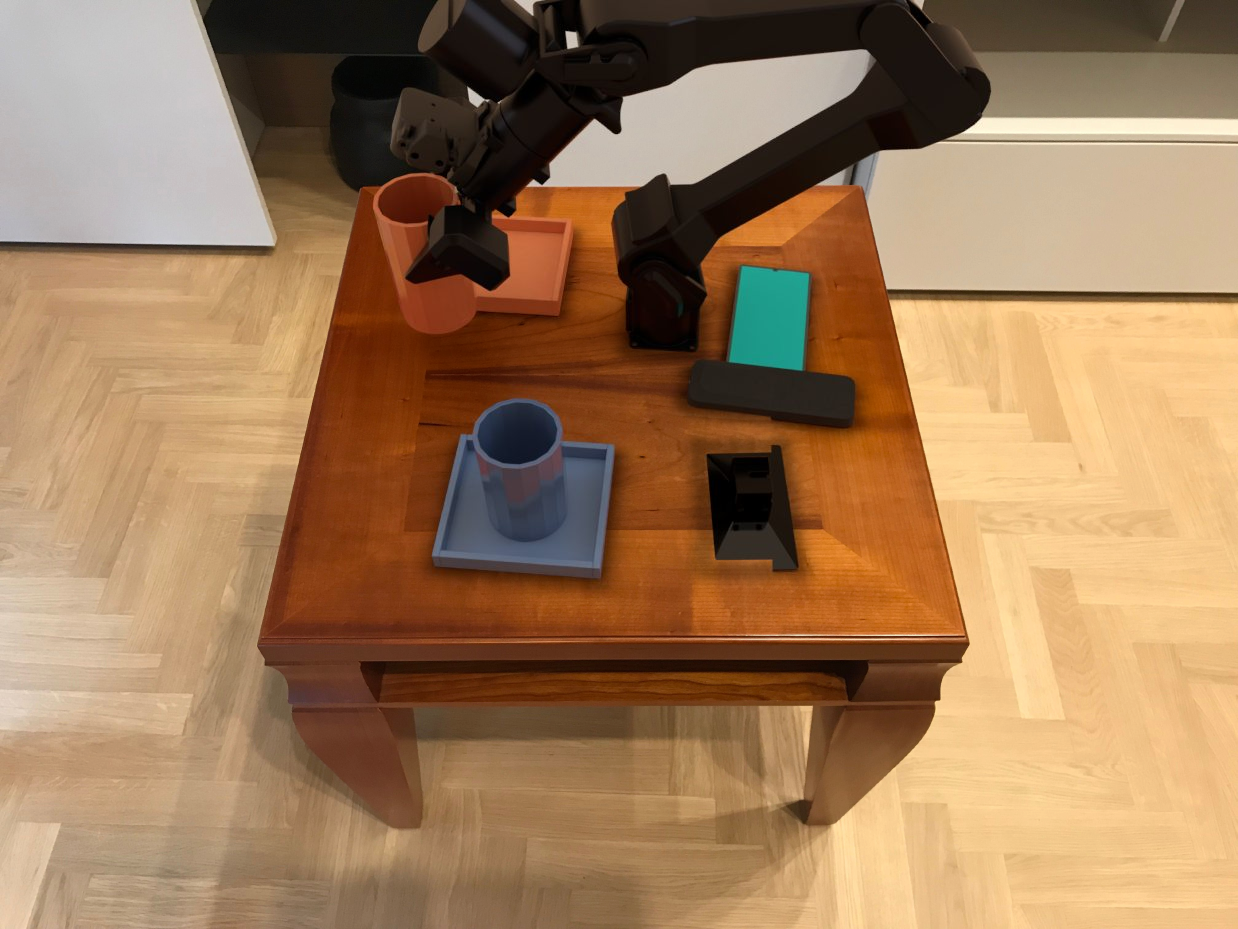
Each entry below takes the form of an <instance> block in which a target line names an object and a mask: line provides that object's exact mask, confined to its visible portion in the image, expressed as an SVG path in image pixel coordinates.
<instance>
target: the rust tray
mask: <svg viewBox="0 0 1238 929" xmlns="http://www.w3.org/2000/svg"><path fill="white" fill-rule="evenodd" d="M492 225H494V226H495V227H497V228H499V229H500V230H502V231H503V232H505V233H506V234H508V242H509V255H510V277H509V278H508V279H507V280H505V281H504V282H503V283H502V284H501V285H500V286H499V287H498V288H497V289H496V290H493V291H488V290H487V289H485V288H483V287H482V286H480V285H478V284H477V283H475V287H476V293H477V303H478V306H477V311H476V312H489V313H503V314H504V313H506V314H508V313H509V314H520V315H521V314H524V315H538V316H539V315H540V316H556V317H558V316H560V312H561V306H562V300H563V294H564V289H565V283H566V279H567V272H568V266H569V261H570V256H571V250H572V244H573V239H574V221H573V218H564V217H563V218H562V217H547V216H544V217H543V216H528V215H527V216H524V215H511V216H510V217H509V218H508V217H506V216H505V215H503V214H492Z"/></svg>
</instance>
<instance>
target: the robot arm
mask: <svg viewBox="0 0 1238 929" xmlns="http://www.w3.org/2000/svg"><path fill="white" fill-rule="evenodd" d="M567 32H569V33H575V35H576V42H577V46H574V47H571V48H568V41H567V40H568V39H567ZM417 48H418V52H420V53H421V54H423V55H424V56H425V57H427V58H428V59H430V60H431V61H432V62H434V63H435V64H436V65H438V66H439V67H441V68H442V70H444V71H445V72H447V73H448V74H449V75H451V76H452V77H454V78H455V79H456V80H458V81H459V82H461V84H463V85H464V86H466V87H467V88H468V89H469V90H471V91H473V92H474V93H475V94H476V95H478V96H479V97H480V98H481V99H483V100H482V101H481V103H479V105H478V106H477V105H475V104H474V103H472V102H471V101H470V100H468V99H467V98H465V97H464V96H451V97H450V96H449V97H447V98H445V97H442V96H439V95H436V94H433V93H430V92H427V91H424V90H421V89H418V88H415V87H405V88H403V89H402V91H401V93H400V97H399V99H398V103H397V107H396V110H395V113H394V117H393V121H392V125H391V140H390V144H389V149H390V152H391V153H392V155H394V156H395V157H396V158H398V159H400V160H402V161H406V163H407V164H408V165H409V166H410V167H413V168H416V169H419V170H421V171H426V172H427V173H429V174H434V175H439V176H442V177H444V178H446V179H447V181H448V182H449V183H451V184H452V185H454V191H455V193H456V194H457V195H458V196H459V199H460V204H461V205H449V206H444V207H443V208H442V209H441V210H440V211H439V212H438V213H437V214H436V216H435V217H433V216H431V215H430V214H428V223H427V239H428V242H427V243H426V244H425V246H424V247H423V249H422V250H421V252H420V253H419V254H418V256H417V257H416V259H415V260H414V261H413V263H412V264H411V266H410V268H409V269H408V271H407V272H406V274H405V279H406V280H407V281H409V282H411V283H413V284H419V283H424V282H428V281H432V280H436V279H441V278H445V277H449V276H454V275H460V274H461V275H463V276H465V277H466V278H468V279H470V280H471V281H473V282H475V283H477V284H478V285H480V286H482V287H483V288H485V289H487V290H488V291H493V290H496V289H497V288H498V287H499V286H500V285H501V284H502V283H503V282H504V281H505V280H507V279H508V278H509V277H510V255H509V242H508V234H506V233H505V232H503V231H502V230H500V229H499V228H497V227H495V226H494V225H492V215H493V212H494V211H497V212H499V213H500V214H501V215H505V216H506V217H508V218H509V217H510V216H513V214H515V213H516V212H517V210H518V209H517V208H518V207H517V197H518V195H520V193H522V192H523V191H524V190H525V189H526V188H527V187H528V185H530V183H532V181H535V182H536V183H537V184H539V185H540V186H543V185H544V184H545V183H546V182H548V180H550V179H551V167H550V164H551V163H552V162H553V161H554V160H555V159H556V158H557V157H558V156H559V154H561V153H562V152H563V151H564V150H565V149H566V148H567V147H569V145H570V144H571V143H572V142H573V141H574V140H575V139H576V138H577V137H578V136H579V135H580V134H581V133H582V132H583V131H584V130H585V129H586V128H587V127H588V126H589V125H590V124H591V123H592V122H593V121H594V120H595V121H597V122H598V123H599V124H600V125H602V126H603V127H605V128H606V129H607V130H608V131H610V132H611V133H612V134H613V135H617V136H618V135H619V134H621V133H622V130H623V127H622V121H621V120H622V118H621V117H622V116H621V113H622V107H623V103H624V98H626V97H631V96H635V95H639V94H642V93H646V92H649V91H653V90H657V89H661V88H665V87H668V86H670V85H672V84H674V83H675V82H677V81H678V80H680V79H681V78H683V77H684V76H687V75H688V74H689V73H691V72H693V71H695V70H697V69H701V68H705V67H708V66H713V65H714V66H715V65H722V64H723V65H724V64H732V63H733V64H734V63H744V62H752V61H753V62H754V61H763V60H772V59H781V58H791V57H793V58H794V57H801V56H811V55H821V54H831V53H841V52H848V51H850V52H851V51H861V50H862V51H867V52H868V53H869V55H871V57H873V59H874V60H875V62H874V63H873V65H872V66H871V67H870V69H869V70H868V72H866V74H865V75H864V77H863V78H862V80H861V81H860V82H859V84H858V85H857V86H856V88H855V89H854V90H853V91H852V92H851V93H850V94H848V95H847V96H845V97H843V98H842V99H840V100H838V101H837V102H834V103H833V104H831V105H829V106H827V107H825V108H824V109H822V110H820V111H819V112H817V113H815V114H814V115H812V116H810V117H808V118H807V119H804V120H803V121H802V122H800V123H798V124H796V125H794V126H793V127H791V128H790V129H787V130H785V131H784V132H782V133H781V134H779V135H777V136H776V137H774V138H772V139H770V140H769V141H767V142H765V143H763V144H761V145H760V146H758V147H756V148H755V149H753V150H750V151H749V152H748V153H746V154H743V155H742V156H741V157H739V158H737V159H735V160H733V161H732V162H730V163H728V164H727V165H725V166H723V167H722V168H720V169H718V170H716V171H715V172H713V173H711V174H709V175H707V176H705V177H704V178H702V179H701V180H699V181H696V182H694V183H676V184H675V183H674V184H673V183H672V184H671V182H670V180H669V177H668V175H667V173H660V174H657V175H656V176H654V177H653V178H652V179H650V180H649V181H648V182H646V183H645V184H644V185H643V186H641V187H638V188H636V189H633V190H628V191H625V192H624V194H623V195H624V200H623V201H622V202H620V203H618V205H617V206H616V207H615V208H614V209H613V214H612V218H611V222H610V226H611V234H612V241H613V242H612V243H613V249H614V256H615V261H616V269H617V270H616V271H617V276H618V278H619V279H620V282H621V283H622V284H623V285H624V286H626V291H625V292H626V294H625V303H624V304H625V305H624V306H625V317H624V318H625V319H624V320H625V322H624V323H625V325H624V326H625V331H626V332H628V333H629V339H628V346H629V348H631V349H633V350H647V351H648V350H650V351H662V352H663V351H664V352H681V353H696V352H698V350H699V338H700V320H701V319H700V318H701V307H703V304H704V302H705V300H706V299H707V297H708V291H707V286H706V282H705V277H704V273H703V268H702V263H703V262H704V260H705V259H706V257H707V256H708V255H709V253H710V252H711V250H712V249H713V248H714V247H715V245H716V244H717V242H718V241H719V240H720V239H721V238H722V237H724V236H725V235H727V234H729V233H731V232H732V231H734V230H736V229H737V228H740V227H741V226H743V225H745V224H747V223H749V222H751V221H753V220H754V219H756V218H758V217H760V216H762V215H764V214H765V213H768V212H769V211H771V210H774V208H777V207H778V206H780V205H782V204H784V203H786V202H788V201H790V200H791V199H793V198H795V197H797V196H799V195H800V194H802V193H804V192H806V191H808V190H809V189H812V188H813V187H815V186H817V185H819V184H821V183H823V182H824V181H826V180H828V179H830V178H831V177H834V176H836V175H837V174H839V173H841V172H843V171H845V170H846V169H848V168H850V167H852V166H853V165H856V164H857V163H859V162H861V161H863V160H865V159H867V158H869V157H871V156H872V155H874V154H877V153H880V152H882V151H883V152H884V151H905V150H906V151H908V150H922V149H925V148H927V147H929V146H932V145H934V144H938V143H940V142H943V141H945V140H948V139H950V138H954V137H956V136H958V135H960V134H962V133H965V132H966V131H968V130H969V129H970V128H972V127H974V126H975V125H976V124H977V123H978V122H979V121H980V120H981V119H982V118H983V113H984V111H985V109H986V108H987V106H988V105H989V102H990V98H991V95H992V87H991V81H990V79H989V77H988V75H987V74H986V72H985V70H984V69H983V67H982V66H981V64H980V62H979V61H978V59H977V57H976V55H975V54H974V52H973V50H972V48H971V46H970V45H969V43H968V41H967V39H966V38H965V37H964V35H963V33H962V32H961V31H960V30H959V29H957V28H956V27H954V26H953V25H949V24H944V23H940V22H939V21H938V22H937V21H936V22H934V21H932V20H931V18H930V17H929V16H928V15H927V14H926V13H925V12H924V10H923V9H922V8H921V7H920V6H919V5H918V4H917V3H916V2H915V1H914V0H537V1H534V2H533V4H532V13H530V12H529V10H526V8H524V7H523V6H522V5H520V3H518V2H517V1H516V0H437V1H436V3H435V4H434V6H433V7H432V9H431V11H430V12H429V14H428V16H427V18H426V20H425V22H424V25H423V27H422V29H421V32H420V34H419V38H418V42H417ZM633 344H635V345H633ZM692 347H693V348H692Z"/></svg>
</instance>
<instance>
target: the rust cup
mask: <svg viewBox="0 0 1238 929" xmlns="http://www.w3.org/2000/svg"><path fill="white" fill-rule="evenodd" d="M372 203H373V204H372V210H373V212H374V216H375V221H376V224H377V228H378V231H379V235H380V239H381V242H382V245H383V250H384V254H385V257H386V261H387V264H388V268H389V272H390V275H391V279H392V283H393V286H394V290H395V293H396V298H397V301H398V304H399V308H400V311H401V314H402V317H403V319H404V321H405V323H406V324H407V325H408V326H409V327H410V328H412V329H413V330H415V331H417V332H419V333H423V334H428V335H444V334H449V333H453V332H456V331H457V330H460V329H462V328H463V327H464V326H467V324H469V323H470V322H471V321H472V320H473V319H474V317H475V315H476V314H477V312H478V311H477V306H478V303H477V293H476V287H475V282H473V281H471V280H470V279H468V278H466V277H465V276H463V275H461V274H460V275H454V276H449V277H445V278H441V279H436V280H432V281H428V282H424V283H419V284H413V283H411V282H409V281H407V280H406V279H405V274H406V272H407V271H408V269H409V268H410V266H411V264H412V263H413V261H414V260H415V259H416V257H417V256H418V254H419V253H420V252H421V250H422V249H423V247H424V246H425V244H426V243H427V242H428V239H427V223H428V214H430V215H431V216H433V217H435V216H436V214H437V213H438V212H439V211H440V210H441V209H442V208H443V207H444V206H449V205H461V204H460V199H459V196H458V195H457V194H456V193H455V191H454V185H452V184H451V183H449V182H448V181H447V179H446V178H444V177H442V176H439V175H434V174H430V172H417V173H408V174H404V175H401V176H398V177H395V178H393V179H391V180H390V181H388V182H386V183H384V184H383V185H382V186H381V187H380V188H379V189H378V191H377V192H376V193H375V194H374V196H373V202H372Z"/></svg>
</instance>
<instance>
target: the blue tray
mask: <svg viewBox="0 0 1238 929" xmlns="http://www.w3.org/2000/svg"><path fill="white" fill-rule="evenodd" d="M615 445H616V444H614V443H602V442H601V443H598V442H585V441H570V440H569V441H568V440H564V451H565V463H566V475H567V487H568V499H569V501H568V513H567V516H566V519H565V520H564V522H563V524H562V525H561V526H560V527H559V528H558V529H557V530H556V531H555V532H554V533H553V534H551V535H549V536H548V537H545V538H543V539H540V540H536V541H529V542H522V541H516V540H512V539H509V538H507V537H505V536H503V535H502V534H500V533H499V532H498V531H497V530H496V529H495V528H494V527H493V525H492V523H491V521H490V519H489V515H488V511H487V507H486V502H485V497H484V493H483V488H482V483H481V478H480V473H479V468H478V464H477V459H476V454H475V449H474V444H473V440H472V434H467V433H460V436H459V440H458V445H457V449H456V452H455V457H454V461H453V465H452V470H451V473H450V478H449V482H448V486H447V491H446V494H445V498H444V503H443V508H442V510H441V515H440V519H439V524H438V529H437V532H436V536H435V540H434V544H433V548H432V553H431V559H432V562H433V565H434V567H442V568H453V569H469V570H482V571H494V572H505V573H506V572H507V573H519V574H520V573H521V574H532V575H547V576H559V577H574V578H584V579H585V578H587V579H599V580H600V579H601V578H602V577H601V576H602V569H603V562H604V553H605V552H604V551H605V544H606V534H607V526H608V525H607V524H608V516H609V508H610V500H611V491H612V482H613V473H614V463H615V456H616V452H615V450H616V448H615Z"/></svg>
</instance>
